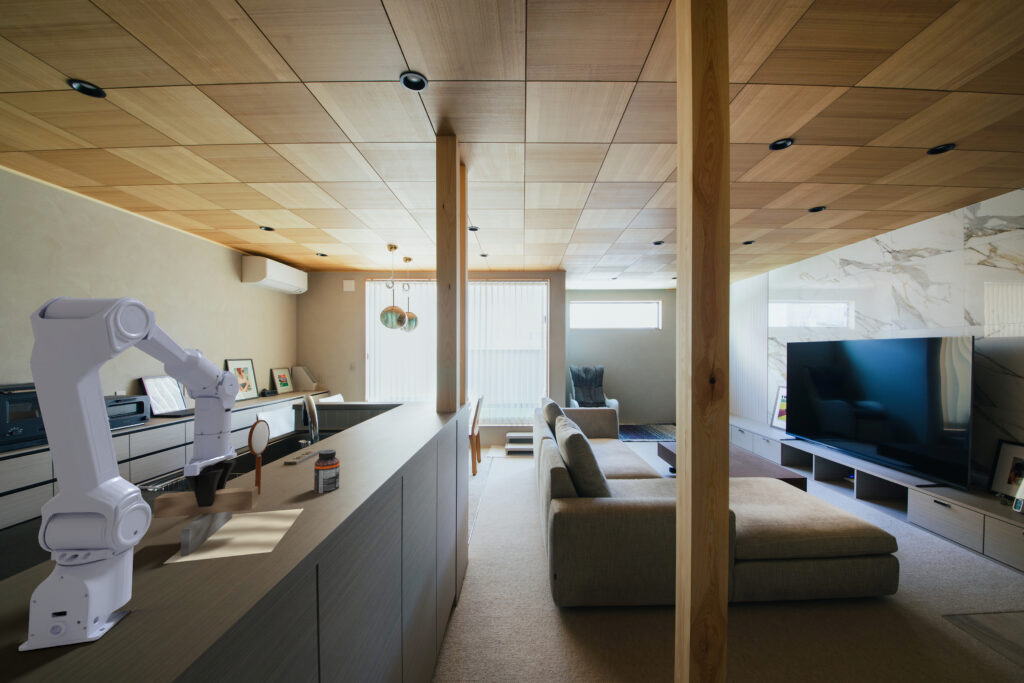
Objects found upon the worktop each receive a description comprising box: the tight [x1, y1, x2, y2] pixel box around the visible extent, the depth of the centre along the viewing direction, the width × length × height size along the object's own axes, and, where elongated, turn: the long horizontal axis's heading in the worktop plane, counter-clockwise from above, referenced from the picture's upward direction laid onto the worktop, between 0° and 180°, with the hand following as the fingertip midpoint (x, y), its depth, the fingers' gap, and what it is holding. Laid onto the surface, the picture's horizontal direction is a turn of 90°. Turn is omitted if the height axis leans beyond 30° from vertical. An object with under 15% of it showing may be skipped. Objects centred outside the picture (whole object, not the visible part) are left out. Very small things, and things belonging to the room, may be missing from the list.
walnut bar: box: [153, 486, 259, 519], centre depth 74 cm, size 16×3×4 cm, turn 104°
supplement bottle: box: [313, 449, 340, 494], centre depth 100 cm, size 6×6×11 cm
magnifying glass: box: [247, 419, 271, 496], centre depth 97 cm, size 9×2×20 cm, turn 5°
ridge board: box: [163, 508, 304, 565], centre depth 75 cm, size 20×16×6 cm
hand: (210, 502), depth 74 cm, fingers closed on walnut bar, 3 cm apart
